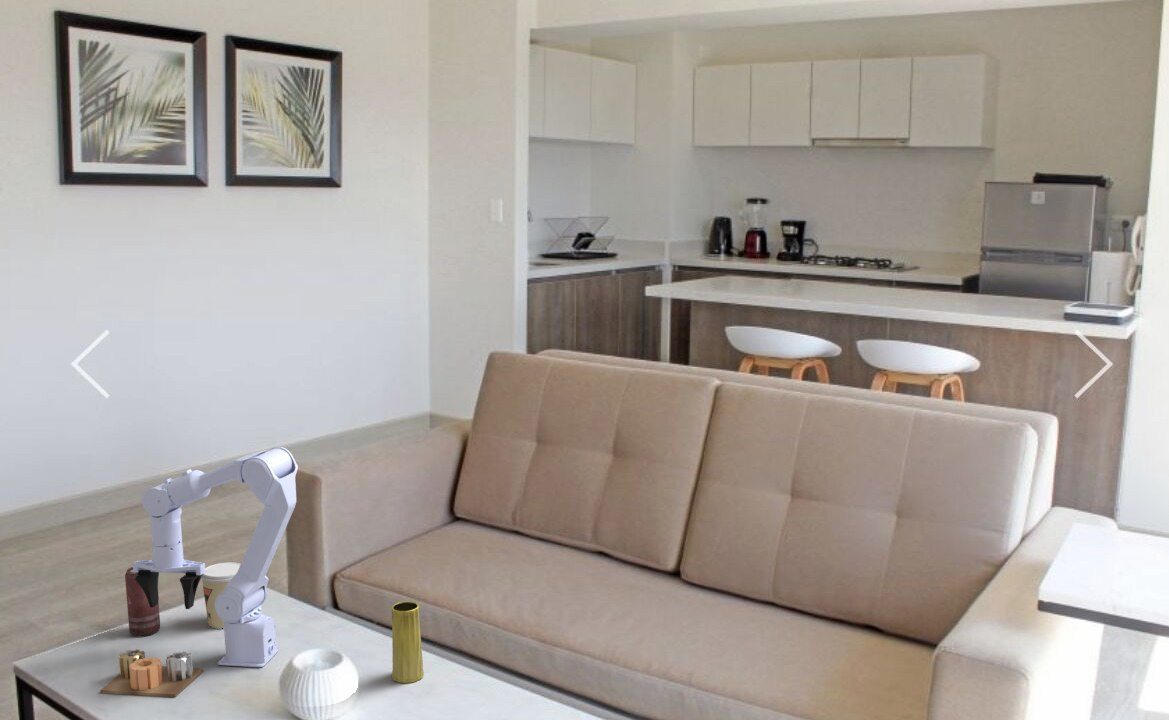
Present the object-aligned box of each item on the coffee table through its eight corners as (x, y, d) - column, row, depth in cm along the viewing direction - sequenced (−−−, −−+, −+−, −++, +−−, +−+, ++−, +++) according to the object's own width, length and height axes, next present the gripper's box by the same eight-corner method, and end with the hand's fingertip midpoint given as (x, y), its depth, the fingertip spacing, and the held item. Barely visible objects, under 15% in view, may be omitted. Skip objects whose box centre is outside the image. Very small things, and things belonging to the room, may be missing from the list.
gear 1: (150, 669, 211) (148, 648, 210) (137, 680, 206) (136, 658, 205) (128, 668, 211) (126, 647, 210) (115, 678, 207) (113, 657, 206)
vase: (397, 686, 204) (394, 614, 202) (387, 673, 209) (384, 603, 207) (428, 679, 207) (425, 608, 204) (417, 666, 212) (415, 597, 210)
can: (140, 640, 226) (135, 576, 223) (124, 632, 229) (118, 569, 227) (166, 630, 230) (162, 568, 228) (150, 623, 234) (145, 561, 232)
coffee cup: (206, 615, 238) (203, 563, 236) (250, 611, 240) (247, 560, 238) (202, 632, 229) (198, 578, 227) (248, 628, 231) (244, 574, 230)
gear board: (203, 671, 211) (202, 652, 210) (175, 697, 200) (173, 678, 200) (132, 667, 213) (130, 649, 212) (100, 693, 202) (98, 673, 202)
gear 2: (197, 671, 210) (195, 650, 209) (185, 682, 205) (184, 660, 204) (175, 670, 210) (173, 649, 209) (162, 680, 206) (161, 659, 205)
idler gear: (164, 676, 208) (163, 656, 207) (158, 688, 202) (157, 668, 202) (135, 678, 207) (133, 658, 206) (128, 691, 202) (126, 671, 201)
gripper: (210, 537, 220) (214, 600, 222) (144, 534, 222) (148, 597, 224) (193, 548, 213) (198, 613, 215) (125, 546, 215) (130, 610, 217)
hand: (171, 606), depth 219 cm, fingers open, 7 cm apart
